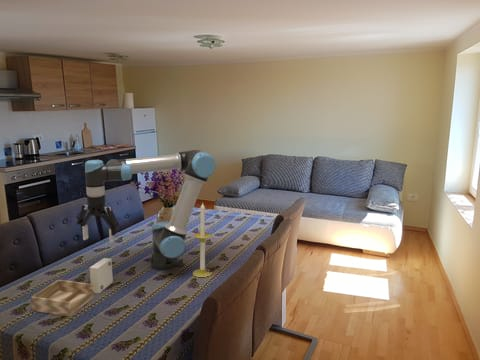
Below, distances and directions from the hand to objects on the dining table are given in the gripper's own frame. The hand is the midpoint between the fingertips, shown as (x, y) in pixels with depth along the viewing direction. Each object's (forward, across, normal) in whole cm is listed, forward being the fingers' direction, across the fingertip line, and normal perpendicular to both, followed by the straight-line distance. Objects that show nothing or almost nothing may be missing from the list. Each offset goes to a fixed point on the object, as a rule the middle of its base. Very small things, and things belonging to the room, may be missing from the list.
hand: (98, 240), depth 166 cm
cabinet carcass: (+23, +6, +17) cm, 29 cm away
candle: (+23, -41, -26) cm, 53 cm away
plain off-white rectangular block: (+23, 0, 0) cm, 23 cm away
